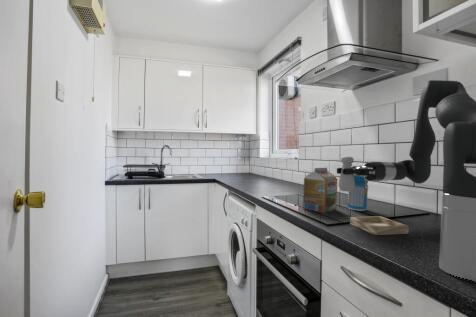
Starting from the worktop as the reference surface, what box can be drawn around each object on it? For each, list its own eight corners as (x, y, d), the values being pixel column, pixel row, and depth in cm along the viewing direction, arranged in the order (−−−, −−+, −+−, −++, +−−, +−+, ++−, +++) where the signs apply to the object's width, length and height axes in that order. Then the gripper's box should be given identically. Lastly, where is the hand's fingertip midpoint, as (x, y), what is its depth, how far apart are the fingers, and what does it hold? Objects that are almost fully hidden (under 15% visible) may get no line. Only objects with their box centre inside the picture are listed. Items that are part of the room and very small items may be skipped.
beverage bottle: (352, 211, 114) (354, 166, 114) (344, 207, 123) (345, 165, 122) (371, 211, 115) (372, 167, 114) (361, 207, 123) (363, 166, 122)
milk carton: (315, 205, 124) (317, 166, 124) (336, 209, 116) (337, 168, 116) (303, 208, 117) (304, 167, 117) (324, 213, 109) (325, 168, 109)
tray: (408, 233, 84) (408, 225, 84) (375, 235, 81) (375, 227, 81) (379, 222, 96) (379, 216, 96) (349, 223, 93) (350, 217, 93)
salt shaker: (356, 192, 94) (357, 156, 93) (339, 191, 95) (340, 156, 95) (352, 190, 99) (353, 156, 99) (337, 189, 101) (337, 156, 100)
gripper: (367, 161, 107) (329, 160, 103) (394, 162, 93) (352, 161, 89) (366, 178, 107) (329, 179, 103) (393, 183, 93) (351, 183, 90)
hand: (340, 171), depth 96 cm, fingers closed on salt shaker, 3 cm apart
